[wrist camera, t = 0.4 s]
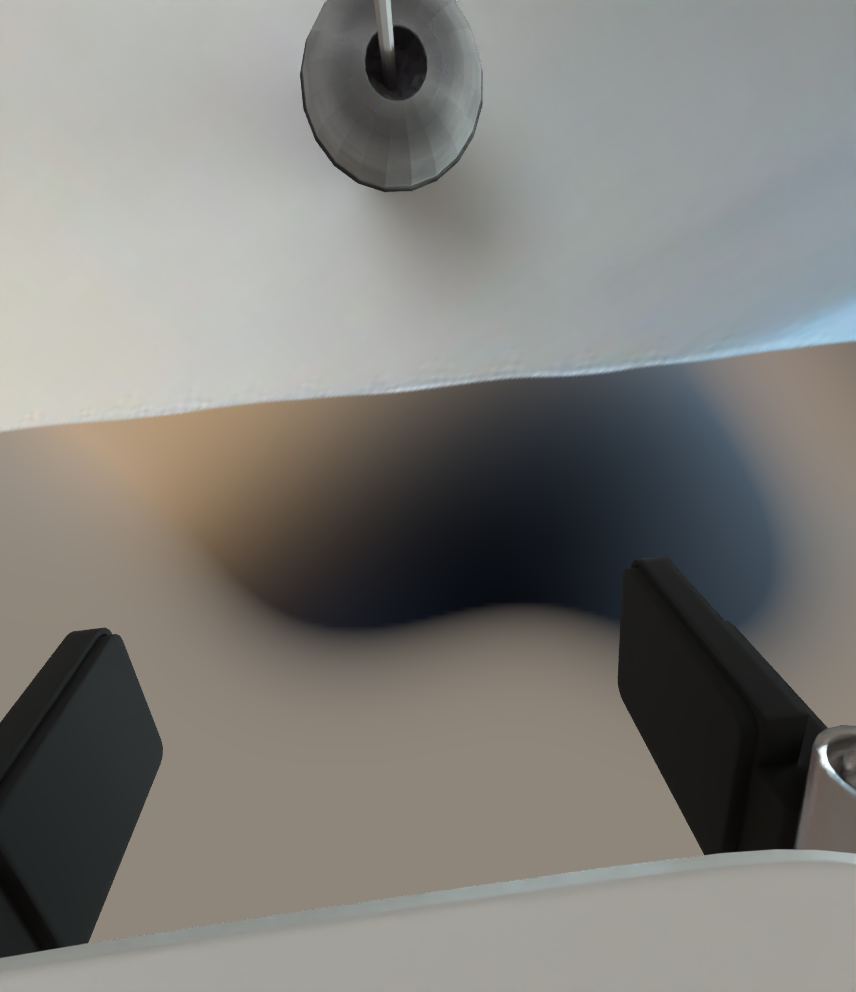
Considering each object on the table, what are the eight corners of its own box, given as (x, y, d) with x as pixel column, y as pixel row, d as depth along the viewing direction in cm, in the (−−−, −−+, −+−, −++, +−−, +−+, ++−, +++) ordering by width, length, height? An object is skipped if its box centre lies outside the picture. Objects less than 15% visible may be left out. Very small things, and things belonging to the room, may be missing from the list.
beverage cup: (365, 228, 36) (357, 223, 18) (297, 103, 33) (203, -59, 15) (471, 163, 35) (578, 85, 17) (411, 28, 32) (459, -244, 14)
